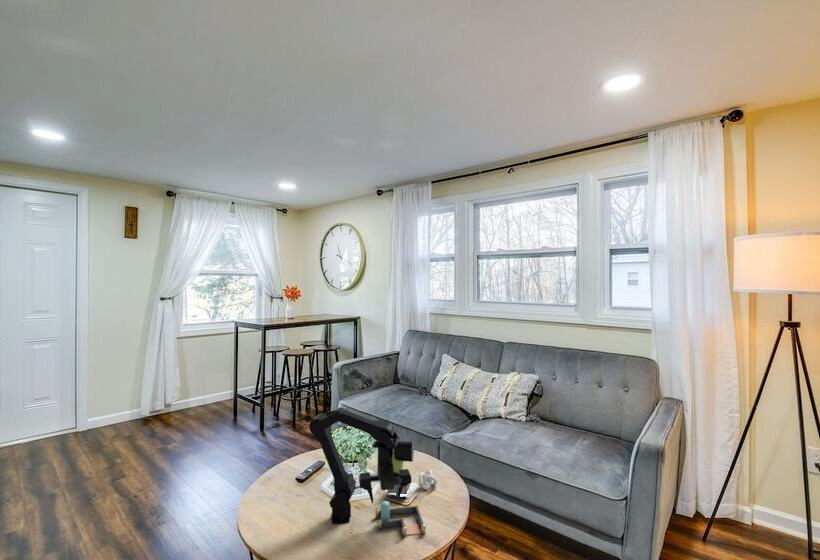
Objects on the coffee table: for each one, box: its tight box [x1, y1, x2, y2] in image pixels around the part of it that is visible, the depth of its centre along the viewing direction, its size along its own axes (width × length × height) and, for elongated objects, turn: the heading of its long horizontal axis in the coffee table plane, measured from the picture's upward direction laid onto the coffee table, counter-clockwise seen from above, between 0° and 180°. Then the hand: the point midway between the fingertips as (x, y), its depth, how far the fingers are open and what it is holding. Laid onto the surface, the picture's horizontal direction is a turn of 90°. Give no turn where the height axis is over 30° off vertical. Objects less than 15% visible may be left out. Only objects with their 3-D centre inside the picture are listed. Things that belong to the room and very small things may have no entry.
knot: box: [418, 469, 438, 491], centre depth 167 cm, size 8×8×6 cm
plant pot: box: [393, 449, 404, 473], centre depth 181 cm, size 9×9×9 cm
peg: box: [380, 500, 391, 521], centre depth 142 cm, size 3×3×7 cm
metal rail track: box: [374, 505, 427, 538], centre depth 140 cm, size 16×14×3 cm
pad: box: [404, 523, 422, 536], centre depth 138 cm, size 5×5×1 cm
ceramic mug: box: [386, 483, 411, 494], centre depth 161 cm, size 11×8×8 cm
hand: (384, 501), depth 142 cm, fingers open, 9 cm apart
